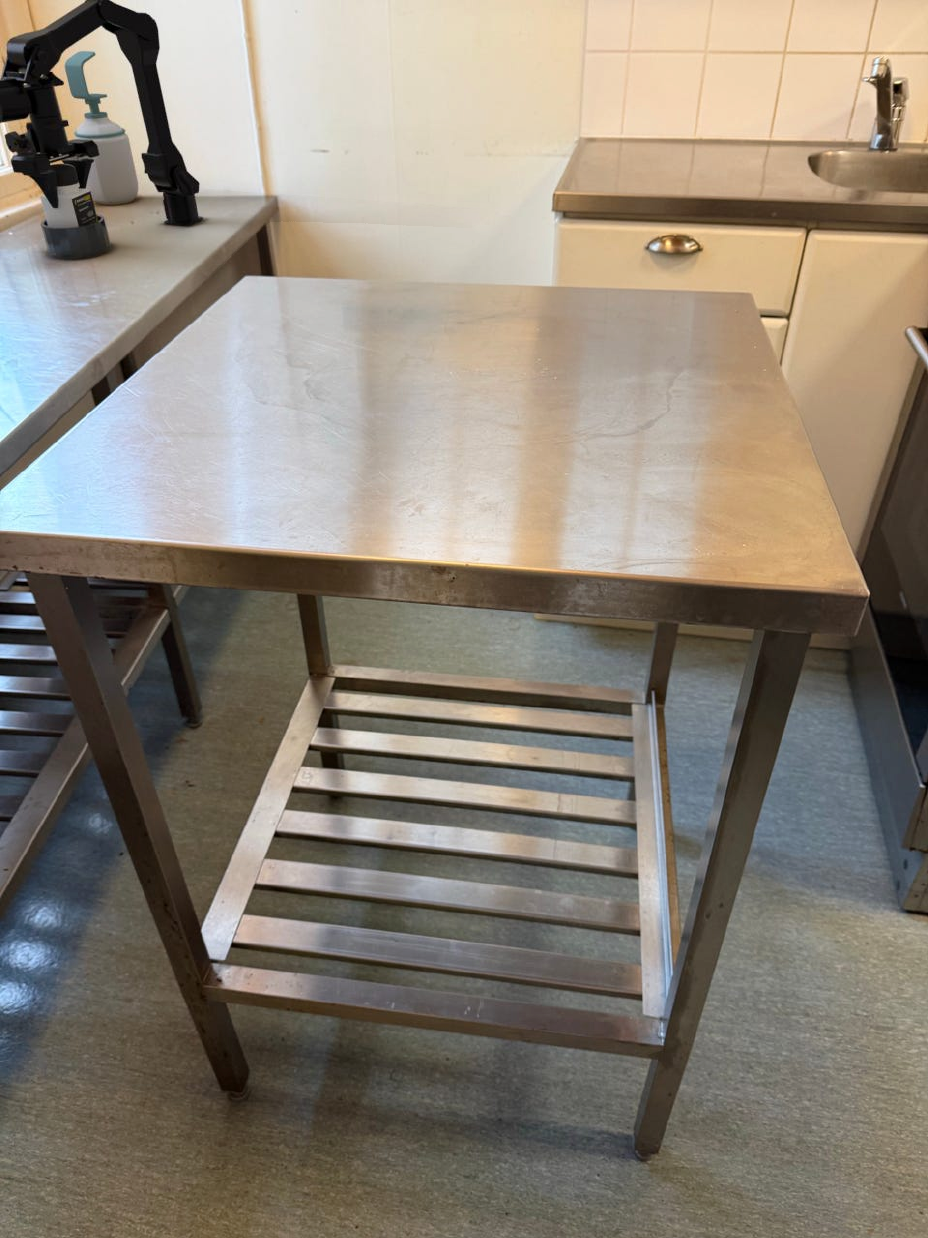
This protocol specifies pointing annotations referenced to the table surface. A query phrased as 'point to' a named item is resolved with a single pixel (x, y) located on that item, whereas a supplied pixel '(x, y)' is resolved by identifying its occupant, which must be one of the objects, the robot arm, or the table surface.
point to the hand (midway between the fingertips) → (68, 203)
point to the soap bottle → (103, 142)
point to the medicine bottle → (69, 201)
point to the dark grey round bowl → (77, 240)
